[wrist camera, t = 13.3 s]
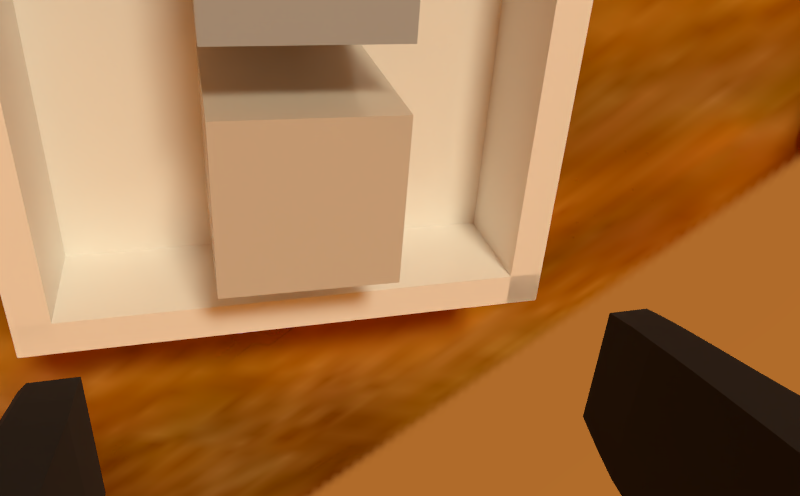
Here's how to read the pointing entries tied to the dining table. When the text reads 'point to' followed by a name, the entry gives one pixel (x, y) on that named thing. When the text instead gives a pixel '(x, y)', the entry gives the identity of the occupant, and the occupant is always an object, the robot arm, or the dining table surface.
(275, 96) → the beige cuboid
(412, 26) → the grey rectangular prism
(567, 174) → the dining table surface
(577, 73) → the pale wooden open box
